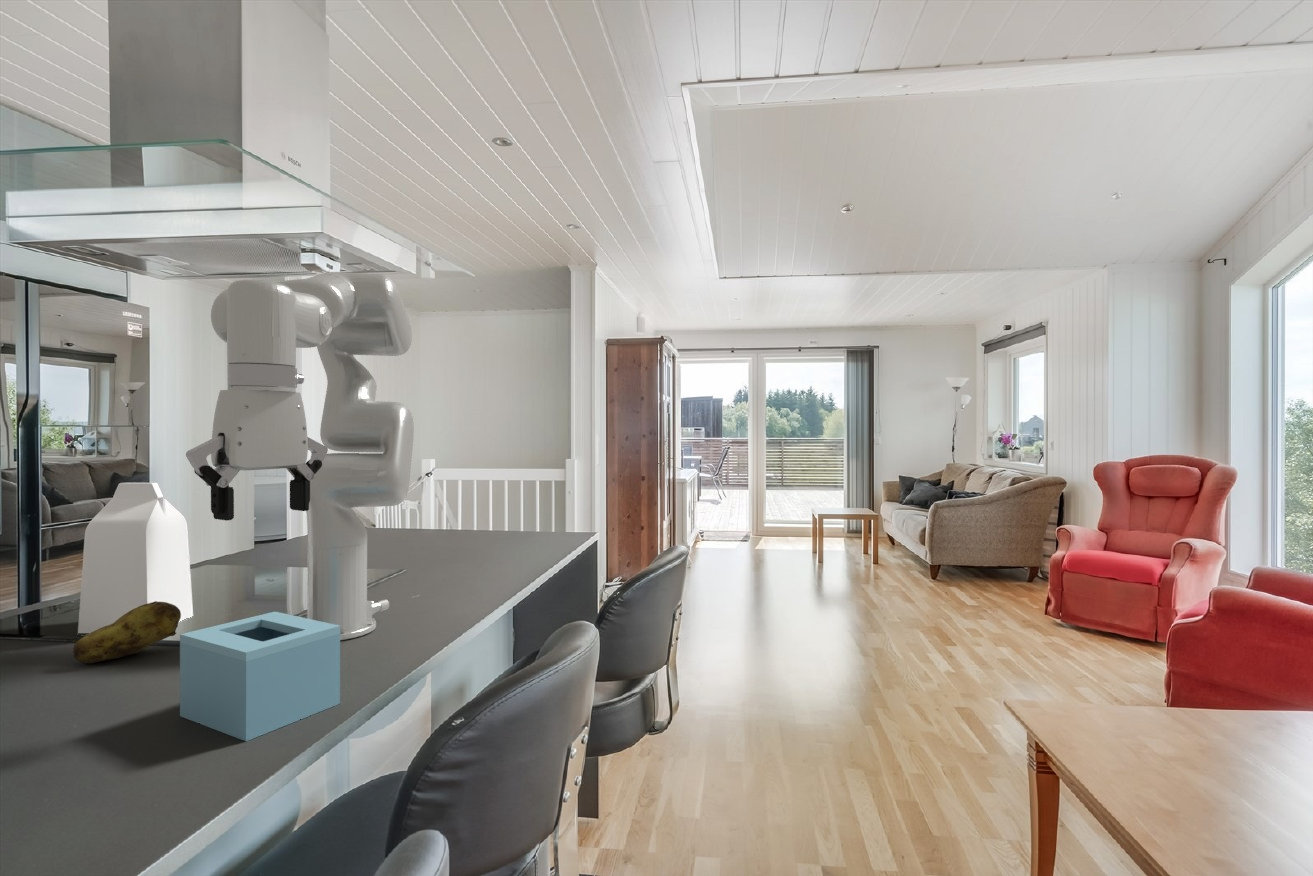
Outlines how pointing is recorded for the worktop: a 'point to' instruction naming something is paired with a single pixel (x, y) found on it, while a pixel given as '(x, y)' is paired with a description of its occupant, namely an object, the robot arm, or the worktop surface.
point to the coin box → (259, 673)
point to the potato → (129, 633)
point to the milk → (134, 557)
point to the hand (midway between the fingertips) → (263, 514)
